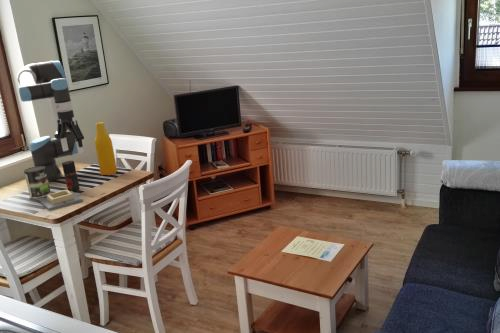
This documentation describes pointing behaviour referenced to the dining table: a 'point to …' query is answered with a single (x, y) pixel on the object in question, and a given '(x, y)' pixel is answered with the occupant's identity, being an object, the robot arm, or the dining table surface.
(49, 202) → the hub board
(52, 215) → the dining table surface
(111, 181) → the dining table surface
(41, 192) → the coffee can
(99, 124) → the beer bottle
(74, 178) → the deodorant
